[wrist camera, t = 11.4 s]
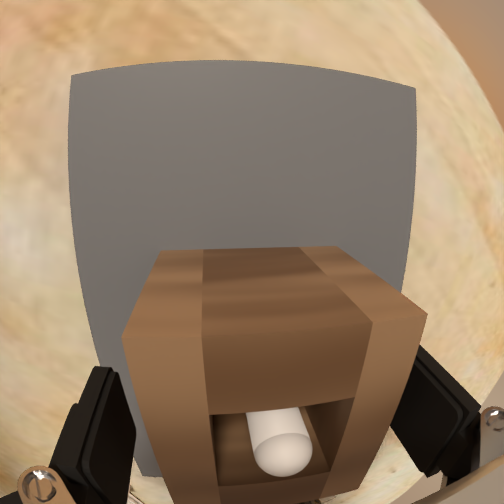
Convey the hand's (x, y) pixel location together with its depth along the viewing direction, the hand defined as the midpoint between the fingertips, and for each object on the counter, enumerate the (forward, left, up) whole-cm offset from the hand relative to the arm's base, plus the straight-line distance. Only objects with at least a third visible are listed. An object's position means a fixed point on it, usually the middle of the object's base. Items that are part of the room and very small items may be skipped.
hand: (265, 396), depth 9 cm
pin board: (0, 0, -5) cm, 5 cm away
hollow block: (0, 0, -4) cm, 4 cm away
